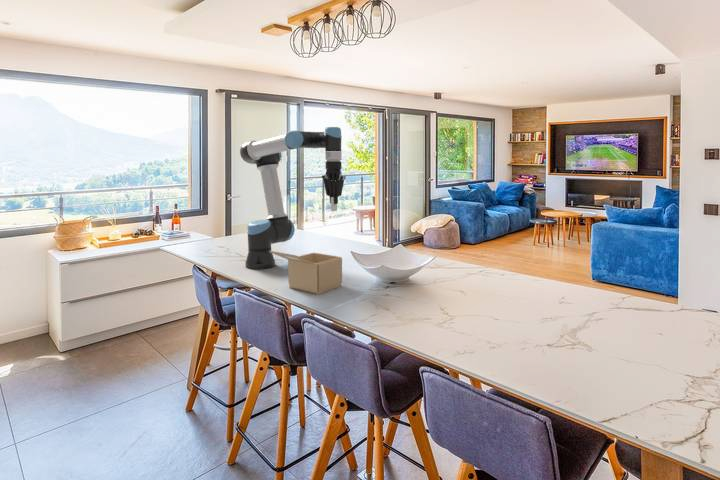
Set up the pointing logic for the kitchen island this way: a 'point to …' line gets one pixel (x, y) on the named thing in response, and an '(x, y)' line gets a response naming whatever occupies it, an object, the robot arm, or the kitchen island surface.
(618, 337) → the kitchen island surface
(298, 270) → the carton
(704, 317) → the kitchen island surface
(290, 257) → the front flap
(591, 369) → the kitchen island surface
